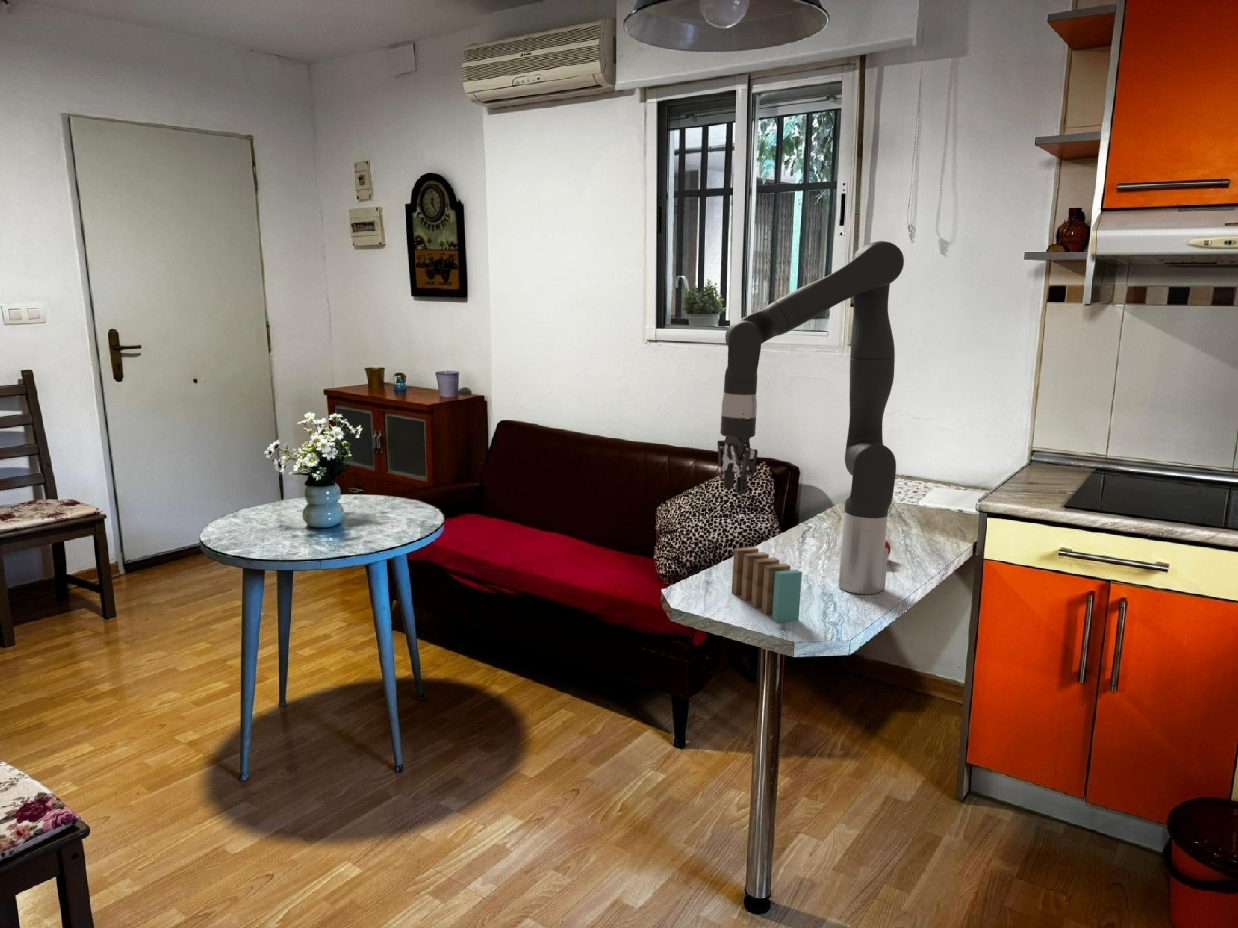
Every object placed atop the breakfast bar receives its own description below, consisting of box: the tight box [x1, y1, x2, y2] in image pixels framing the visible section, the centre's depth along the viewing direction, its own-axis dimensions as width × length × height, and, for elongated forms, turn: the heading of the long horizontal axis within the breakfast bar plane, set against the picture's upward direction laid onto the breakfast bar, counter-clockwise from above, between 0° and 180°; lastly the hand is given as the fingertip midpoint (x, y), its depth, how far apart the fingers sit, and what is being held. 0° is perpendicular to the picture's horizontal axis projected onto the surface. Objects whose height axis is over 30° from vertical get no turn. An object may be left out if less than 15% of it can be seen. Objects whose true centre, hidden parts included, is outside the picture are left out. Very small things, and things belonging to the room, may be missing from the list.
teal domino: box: [771, 569, 803, 624], centre depth 169 cm, size 5×2×10 cm, turn 111°
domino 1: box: [731, 546, 759, 596], centre depth 184 cm, size 5×2×10 cm, turn 111°
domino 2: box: [740, 551, 770, 602], centre depth 181 cm, size 5×2×10 cm, turn 111°
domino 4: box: [761, 562, 791, 616], centre depth 173 cm, size 5×2×10 cm, turn 111°
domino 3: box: [750, 557, 780, 610], centre depth 177 cm, size 5×2×10 cm, turn 111°
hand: (734, 490), depth 187 cm, fingers open, 5 cm apart
